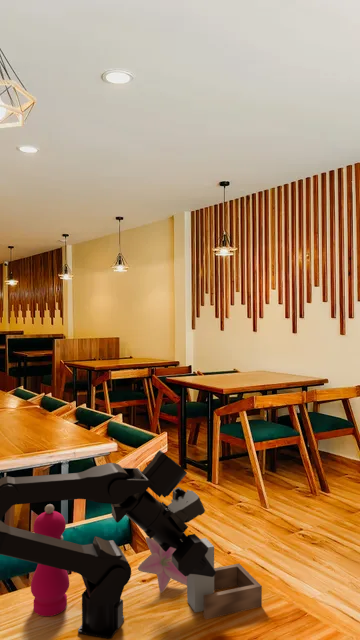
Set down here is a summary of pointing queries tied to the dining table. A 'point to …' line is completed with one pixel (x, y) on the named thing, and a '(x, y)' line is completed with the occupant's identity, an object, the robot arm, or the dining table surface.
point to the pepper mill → (49, 569)
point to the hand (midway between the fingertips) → (204, 563)
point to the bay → (232, 592)
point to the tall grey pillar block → (200, 583)
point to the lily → (161, 565)
